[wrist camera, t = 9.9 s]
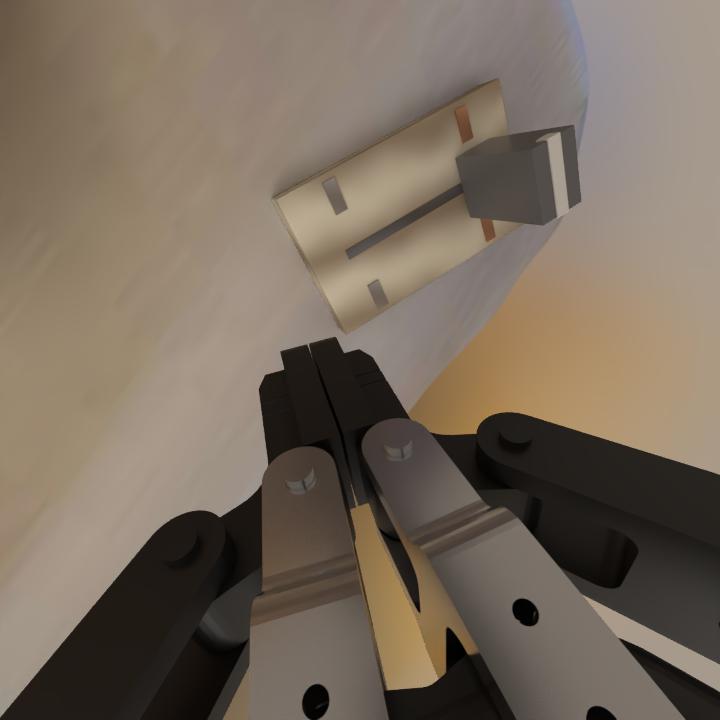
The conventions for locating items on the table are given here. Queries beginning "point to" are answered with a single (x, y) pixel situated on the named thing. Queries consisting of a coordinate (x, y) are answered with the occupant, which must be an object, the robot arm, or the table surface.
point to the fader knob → (522, 176)
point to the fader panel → (395, 210)
